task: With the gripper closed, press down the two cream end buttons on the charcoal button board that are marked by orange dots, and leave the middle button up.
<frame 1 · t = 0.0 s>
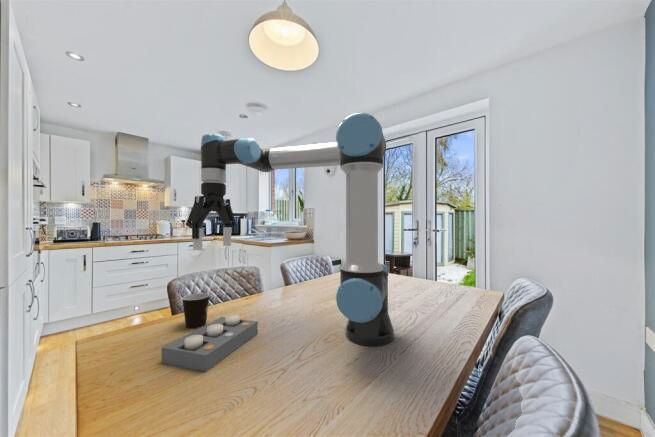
hand: (213, 247, 88), 28 cm above the table, tool pointing down, fingers open, 13 cm apart
button a: (232, 320, 86), point 5 cm above the table, slide at 0.0 cm
button c: (193, 342, 71), point 5 cm above the table, slide at 0.0 cm
button board: (215, 346, 78), on the table
button b: (215, 330, 78), point 5 cm above the table, slide at 0.0 cm
coffee mug: (198, 323, 96), on the table
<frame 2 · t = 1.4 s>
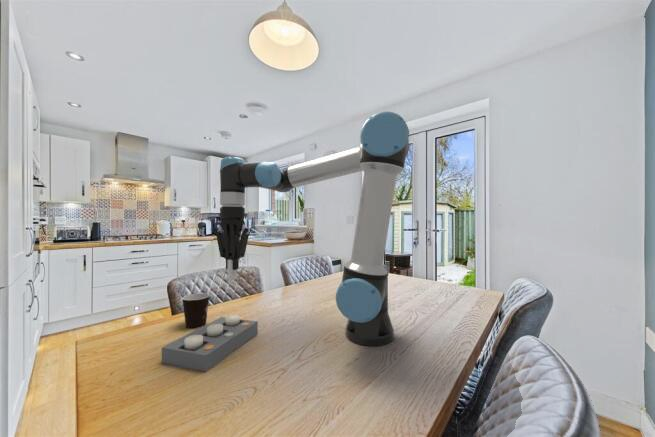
hand: (232, 279, 86), 18 cm above the table, tool pointing down, fingers closed
nothing on the table moved.
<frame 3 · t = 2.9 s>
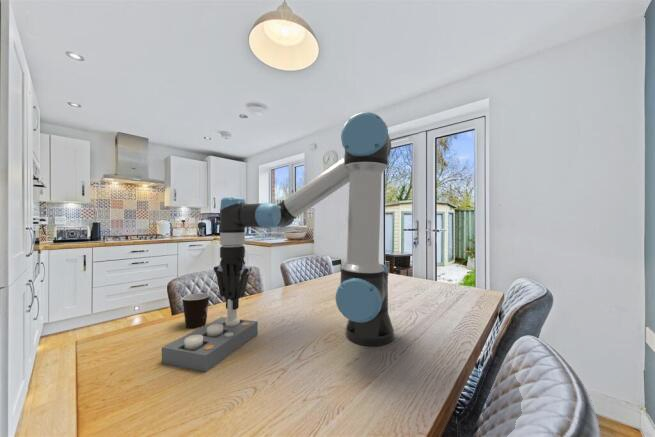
hand: (232, 319, 86), 5 cm above the table, tool pointing down, fingers closed
button a: (232, 322, 86), point 4 cm above the table, slide at 0.8 cm, touching gripper
everything else where it was.
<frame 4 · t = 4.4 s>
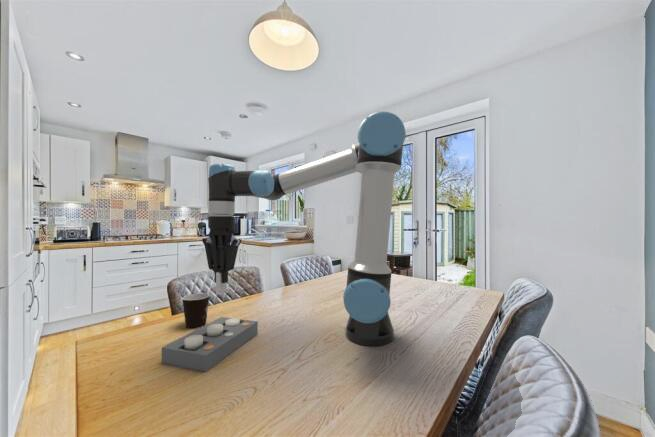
hand: (221, 293, 81), 15 cm above the table, tool pointing down, fingers closed
button a: (232, 323, 86), point 4 cm above the table, slide at 1.0 cm
everything else where it was.
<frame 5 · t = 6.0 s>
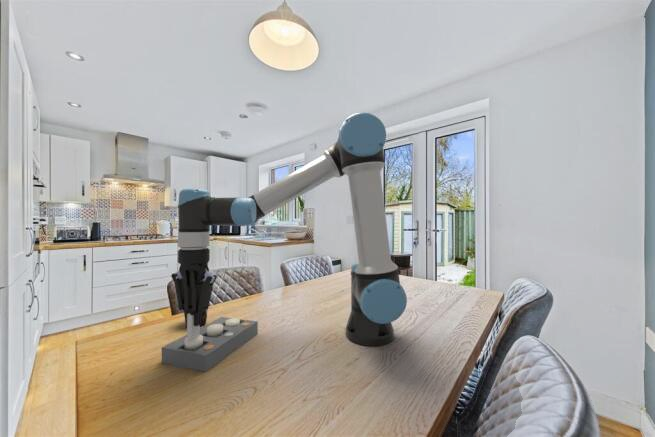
hand: (193, 337, 71), 6 cm above the table, tool pointing down, fingers closed
button c: (193, 342, 71), point 5 cm above the table, slide at 0.0 cm, touching gripper
everything else where it was.
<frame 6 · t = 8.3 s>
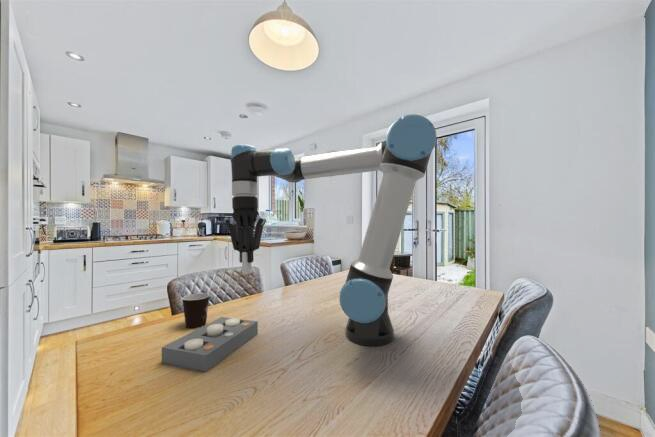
hand: (247, 273, 82), 21 cm above the table, tool pointing down, fingers closed
button c: (193, 346, 71), point 4 cm above the table, slide at 1.0 cm
everything else where it was.
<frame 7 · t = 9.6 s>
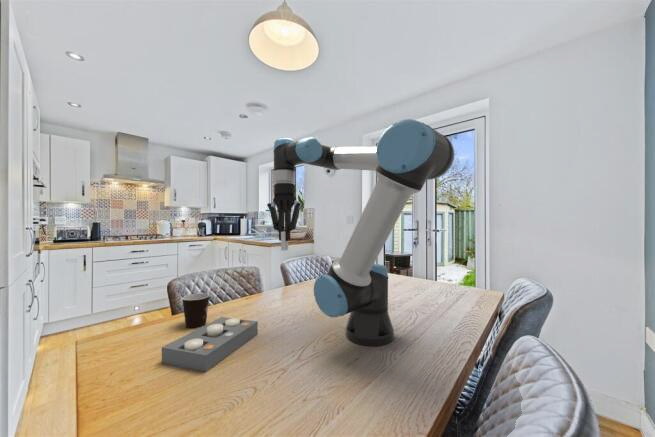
hand: (284, 250, 95), 26 cm above the table, tool pointing down, fingers closed
nothing on the table moved.
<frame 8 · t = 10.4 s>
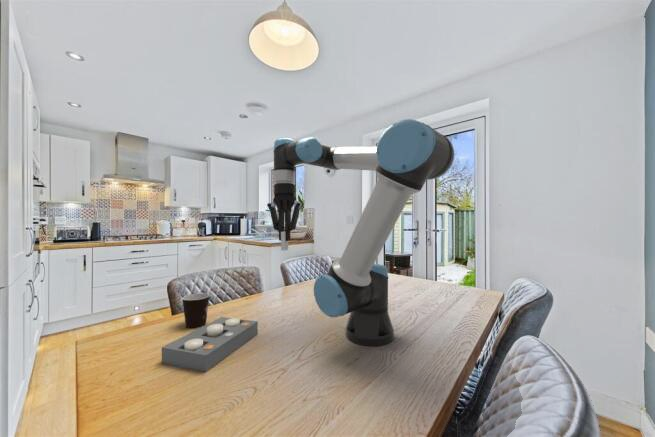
hand: (284, 250, 95), 26 cm above the table, tool pointing down, fingers closed
nothing on the table moved.
at the end: button a slide at 1.0 cm; button c slide at 1.0 cm; button b slide at 0.0 cm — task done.
